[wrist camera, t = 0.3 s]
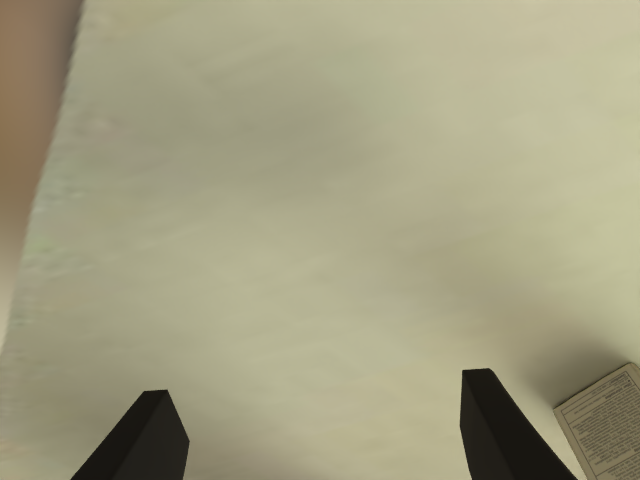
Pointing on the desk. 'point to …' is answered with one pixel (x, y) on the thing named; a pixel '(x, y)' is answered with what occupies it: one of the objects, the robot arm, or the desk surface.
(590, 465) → the box
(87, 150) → the desk surface
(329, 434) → the desk surface
